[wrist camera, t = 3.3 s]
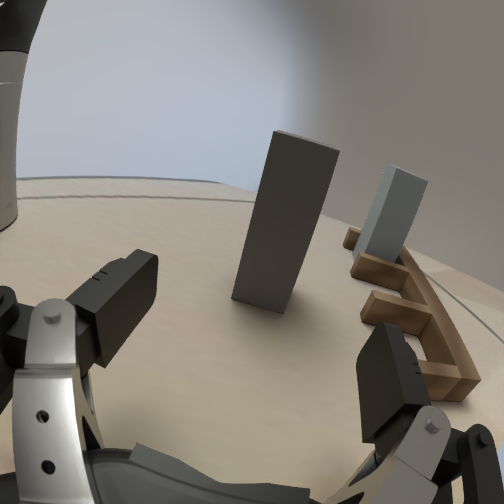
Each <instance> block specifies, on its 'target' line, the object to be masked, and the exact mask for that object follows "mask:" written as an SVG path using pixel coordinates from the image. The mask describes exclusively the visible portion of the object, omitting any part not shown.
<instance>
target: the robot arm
mask: <svg viewBox="0 0 504 504" xmlns="http://www.w3.org/2000/svg"><path fill="white" fill-rule="evenodd" d="M3 2H5V3H4V4H3V5H1V6H0V230H2V229H3V228H5V227H6V226H8V225H9V224H10V223H12V222H13V221H14V220H15V218H16V217H17V215H18V207H17V192H16V141H17V125H18V114H19V105H20V97H21V90H22V84H23V83H22V82H23V78H24V72H25V67H26V63H27V58H28V54H29V50H30V46H31V42H32V40H33V37H34V34H35V32H36V29H37V26H38V24H39V21H40V18H41V15H42V12H43V9H44V7H45V5H46V2H47V0H0V3H3ZM157 274H158V256H157V255H155V254H152V253H149V252H146V251H143V250H140V249H137V250H135V251H134V252H133V253H131V254H130V255H129V256H128V257H127V258H125V259H123V258H119V259H117V260H114V261H111V262H109V263H107V264H106V265H105V266H104V267H103V268H101V269H100V270H99V272H97V273H95V274H94V275H93V276H92V278H89V279H88V280H87V281H86V282H85V283H84V284H82V285H81V286H80V287H79V288H78V289H77V290H76V291H74V292H73V293H72V294H71V295H70V296H69V297H68V298H67V299H65V300H63V299H55V298H54V299H48V300H45V301H43V302H41V303H39V304H38V305H37V306H36V307H33V306H29V305H24V304H20V303H18V302H17V299H16V295H15V292H14V291H13V289H11V288H10V287H7V286H0V414H1V413H2V411H3V410H4V409H5V407H6V406H7V404H8V403H9V401H10V400H11V398H12V397H13V401H12V433H13V451H14V462H15V471H16V472H12V473H7V474H2V475H0V504H322V503H320V502H317V501H315V500H313V499H311V498H309V496H310V489H308V488H299V487H291V486H284V485H277V484H271V483H258V484H229V483H220V482H218V481H215V480H214V479H212V478H210V477H208V476H206V475H204V474H203V473H201V472H199V471H197V470H195V469H194V468H192V467H190V466H189V465H187V464H185V463H184V462H182V461H180V460H179V459H176V458H174V457H171V456H168V455H166V454H163V453H161V452H158V451H156V450H153V449H151V448H148V447H146V446H144V445H141V444H139V443H136V445H135V447H134V449H133V451H132V450H127V449H118V448H104V444H103V440H102V436H101V433H100V430H99V427H98V423H97V419H96V414H95V408H94V401H93V394H92V387H91V379H90V371H89V369H90V368H91V366H92V365H93V364H94V363H96V364H98V365H99V366H101V367H103V368H106V366H107V365H108V364H109V362H110V361H111V360H112V358H113V357H114V355H115V354H116V353H117V351H118V350H119V349H120V347H121V346H122V345H123V343H124V342H125V341H126V339H127V338H128V337H129V335H130V334H131V333H132V331H133V330H134V329H135V327H136V326H137V325H138V323H139V322H140V321H141V320H142V318H143V317H144V316H145V314H146V313H147V312H148V311H149V309H150V308H151V306H152V305H153V302H154V300H155V297H156V291H157ZM418 365H419V363H418V360H417V357H416V354H415V352H414V351H413V349H412V348H411V346H410V345H409V344H408V342H405V339H404V336H403V333H402V330H401V328H400V327H399V326H396V325H392V324H388V323H384V322H380V323H378V324H377V326H376V327H375V329H374V330H373V332H372V334H371V335H370V337H369V339H368V340H367V342H366V343H365V345H364V346H363V348H362V350H361V351H360V353H359V355H358V358H357V362H356V372H357V381H358V391H359V401H360V413H361V427H362V443H373V444H375V449H374V450H373V451H372V452H371V453H370V454H369V455H368V457H367V458H366V459H365V460H364V462H363V463H362V464H361V466H360V467H359V468H358V469H357V470H356V472H355V473H354V474H353V475H352V476H351V478H350V479H349V480H348V481H347V482H346V483H345V485H344V486H343V487H342V488H341V489H340V490H339V491H338V492H337V493H335V494H334V495H333V496H331V497H330V498H329V499H327V500H326V501H325V502H324V503H323V504H453V498H452V485H451V482H452V481H453V480H455V479H457V478H458V477H460V476H461V475H462V481H463V490H464V503H463V504H504V489H503V483H502V477H501V471H500V466H499V461H498V456H497V452H496V448H495V444H494V440H493V437H492V434H491V433H490V431H489V430H488V429H487V428H486V427H485V426H483V425H481V424H475V425H473V426H471V427H470V428H469V429H468V430H467V431H466V432H462V431H459V430H456V429H453V428H451V425H450V421H449V419H448V417H447V416H446V414H445V413H444V412H443V411H442V410H440V409H439V408H437V407H434V406H431V402H430V399H429V395H428V392H427V388H426V385H425V381H424V378H423V375H421V373H422V372H421V369H420V366H418Z"/></svg>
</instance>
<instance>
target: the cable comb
mask: <svg viewBox="0 0 504 504" xmlns="http://www.w3.org/2000/svg"><path fill="white" fill-rule="evenodd" d="M360 234H361V230H358V229H355V228H352V227H349V230H348V232H347V235H346V237H345V240H344V242H343V246H344V248H347V249H350V250H353V251H354V248H355V246H356V243H357V241H358V239H359V236H360ZM350 272H351V276H352V277H354V278H357V279H360V280H364V281H367V282H370V283H374V284H377V285H380V286H384V287H387V288H390V289H393V290H397V291H399V292H400V294H401V296H402V298H399V297H396V296H392V295H389V294H385V293H382V292H379V291H375V290H372V292H371V294H370V296H369V298H368V300H367V302H366V303H365V305H364V307H363V309H362V311H361V313H360V314H361V319H362V322H364V323H368V324H372V325H376V326H377V324H378V323H380V322H384V323H388V324H392V325H396V326H399V327H400V328H401V330H402V332H405V333H409V334H413V335H417V336H418V337H419V339H420V342H421V344H422V347H423V350H424V352H425V355H426V358H427V360H428V361H423V360H418V359H417V360H418V363H419V365H418V366H420V369H421V372H422V373H421V375H423V378H424V381H425V385H426V388H427V392H428V395H429V399H430V400H439V401H457V402H461V401H462V400H463V399H464V398H465V397H466V396H467V395H468V394H469V393H470V392H471V391H472V390H473V389H474V388H475V386H476V385H477V384H478V383H479V382H480V381H481V378H480V376H479V374H478V372H477V369H476V367H475V365H474V363H473V361H472V359H471V357H470V355H469V353H468V351H467V349H466V347H465V345H464V343H463V341H462V339H461V337H460V335H459V333H458V331H457V329H456V328H455V326H454V324H453V322H452V320H451V319H450V317H449V315H448V313H447V312H446V310H445V308H444V306H443V305H442V303H441V301H440V300H439V298H438V296H437V295H436V293H435V291H434V290H433V288H432V287H431V285H430V283H429V282H428V280H427V279H426V277H425V276H424V274H423V273H422V271H421V269H420V268H419V266H418V265H417V263H416V262H415V261H414V259H413V258H412V256H411V255H410V253H409V252H408V250H407V249H406V248H405V246H402V248H401V250H400V252H399V255H398V257H397V259H396V261H395V263H393V262H390V261H387V260H384V259H381V258H378V257H375V256H372V255H369V254H366V253H363V252H360V251H359V253H358V255H357V257H356V260H355V262H354V264H353V266H352V269H351V271H350Z"/></svg>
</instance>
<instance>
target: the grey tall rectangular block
mask: <svg viewBox="0 0 504 504" xmlns="http://www.w3.org/2000/svg"><path fill="white" fill-rule="evenodd" d="M339 152H340V151H339V150H338V149H336V148H335V147H333V146H330V145H327V144H324V143H321V142H318V141H315V140H311V139H308V138H304V137H301V136H298V135H294V134H291V133H287V132H283V131H280V130H279V131H274V132H273V135H272V139H271V143H270V147H269V151H268V154H267V158H266V162H265V166H264V170H263V174H262V178H261V182H260V186H259V190H258V193H257V197H256V201H255V205H254V209H253V213H252V217H251V221H250V225H249V229H248V233H247V237H246V240H245V244H244V248H243V252H242V256H241V260H240V264H239V268H238V272H237V276H236V280H235V285H234V289H233V293H232V297H231V298H232V299H235V300H239V301H242V302H245V303H248V304H252V305H255V306H258V307H262V308H265V309H269V310H272V311H275V312H279V313H282V314H284V311H285V308H286V306H287V303H288V301H289V298H290V295H291V293H292V290H293V288H294V285H295V282H296V280H297V277H298V274H299V272H300V269H301V266H302V263H303V261H304V258H305V255H306V252H307V250H308V247H309V244H310V241H311V238H312V235H313V233H314V230H315V227H316V224H317V221H318V218H319V215H320V212H321V209H322V206H323V203H324V200H325V197H326V194H327V191H328V188H329V184H330V181H331V178H332V175H333V172H334V169H335V166H336V162H337V159H338V156H339Z"/></svg>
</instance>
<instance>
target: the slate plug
mask: <svg viewBox="0 0 504 504" xmlns="http://www.w3.org/2000/svg"><path fill="white" fill-rule="evenodd" d="M427 183H428V181H426V180H424V179H422V178H420V177H418V176H416V175H414V174H412V173H410V172H408V171H405V170H403V169H401V168H398V167H396V166H394V165H391V164H389V163H386V165H385V168H384V171H383V174H382V177H381V180H380V183H379V185H378V188H377V191H376V194H375V197H374V199H373V202H372V205H371V208H370V210H369V213H368V216H367V218H366V221H365V223H364V226H363V229H362V231H361V234H360V236H359V239H358V241H357V243H356V246H355V248H354V251H353V253H352V255H353V258H354V261H355V260H356V257H357V255H358V253H359V251H360V252H363V253H366V254H369V255H372V256H375V257H378V258H381V259H384V260H387V261H390V262H393V263H395V261H396V259H397V257H398V255H399V252H400V250H401V248H402V246H403V244H404V241H405V239H406V237H407V234H408V232H409V229H410V227H411V225H412V223H413V220H414V218H415V215H416V213H417V210H418V207H419V205H420V202H421V200H422V197H423V194H424V192H425V189H426V186H427Z"/></svg>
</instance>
